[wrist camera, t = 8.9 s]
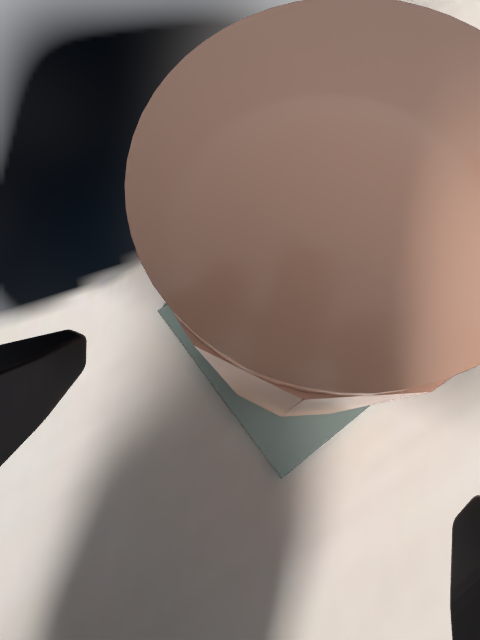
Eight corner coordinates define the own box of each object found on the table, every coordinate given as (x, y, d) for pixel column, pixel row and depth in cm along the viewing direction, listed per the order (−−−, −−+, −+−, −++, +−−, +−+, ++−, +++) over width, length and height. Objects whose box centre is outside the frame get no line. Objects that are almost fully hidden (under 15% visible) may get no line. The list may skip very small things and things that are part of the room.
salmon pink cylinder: (341, 448, 16) (499, 491, 5) (181, 366, 17) (40, 264, 7) (409, 290, 18) (639, 69, 7) (257, 225, 19) (245, -46, 8)
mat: (281, 477, 16) (281, 478, 16) (159, 313, 19) (157, 311, 18) (441, 345, 17) (445, 343, 17) (308, 204, 20) (309, 200, 19)
